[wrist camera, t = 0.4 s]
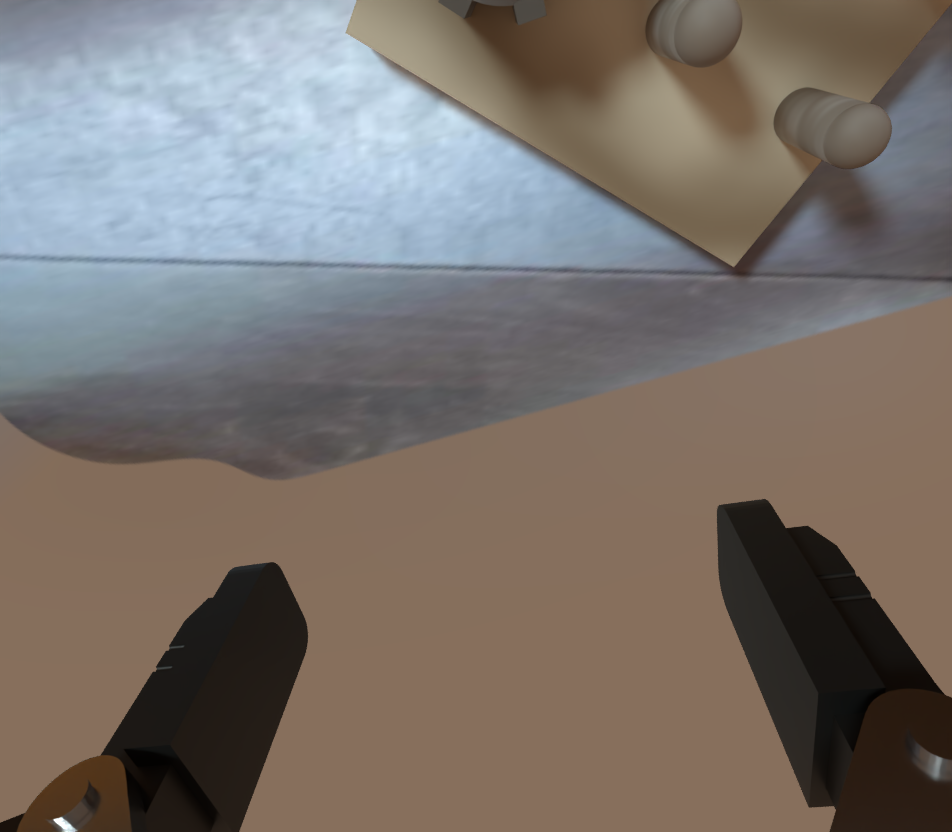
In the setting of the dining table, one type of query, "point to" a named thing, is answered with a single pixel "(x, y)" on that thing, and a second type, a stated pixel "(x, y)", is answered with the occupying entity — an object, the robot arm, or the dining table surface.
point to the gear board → (669, 91)
